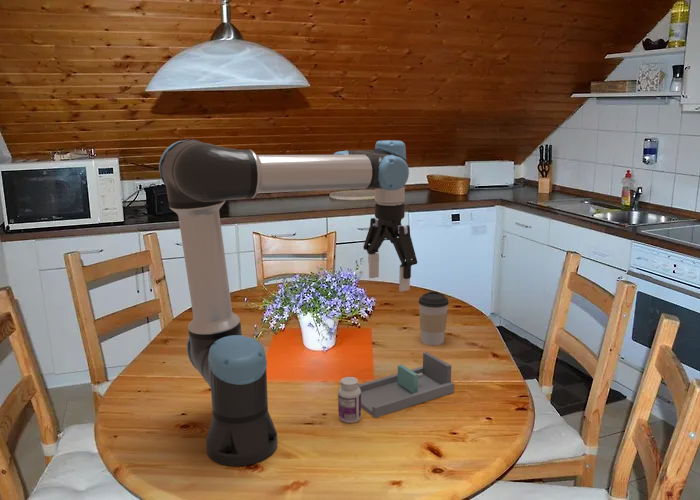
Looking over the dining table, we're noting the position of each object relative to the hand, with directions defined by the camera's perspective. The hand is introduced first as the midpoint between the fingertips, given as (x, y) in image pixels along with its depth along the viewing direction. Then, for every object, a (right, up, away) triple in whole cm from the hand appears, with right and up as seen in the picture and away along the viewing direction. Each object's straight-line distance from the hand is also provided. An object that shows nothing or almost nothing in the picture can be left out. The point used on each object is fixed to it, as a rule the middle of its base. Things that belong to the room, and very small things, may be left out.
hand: (388, 283), depth 159 cm
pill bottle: (-10, -31, -15) cm, 36 cm away
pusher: (+6, -26, -2) cm, 27 cm away
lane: (+3, -28, -4) cm, 28 cm away
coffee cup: (+15, -19, +30) cm, 39 cm away
